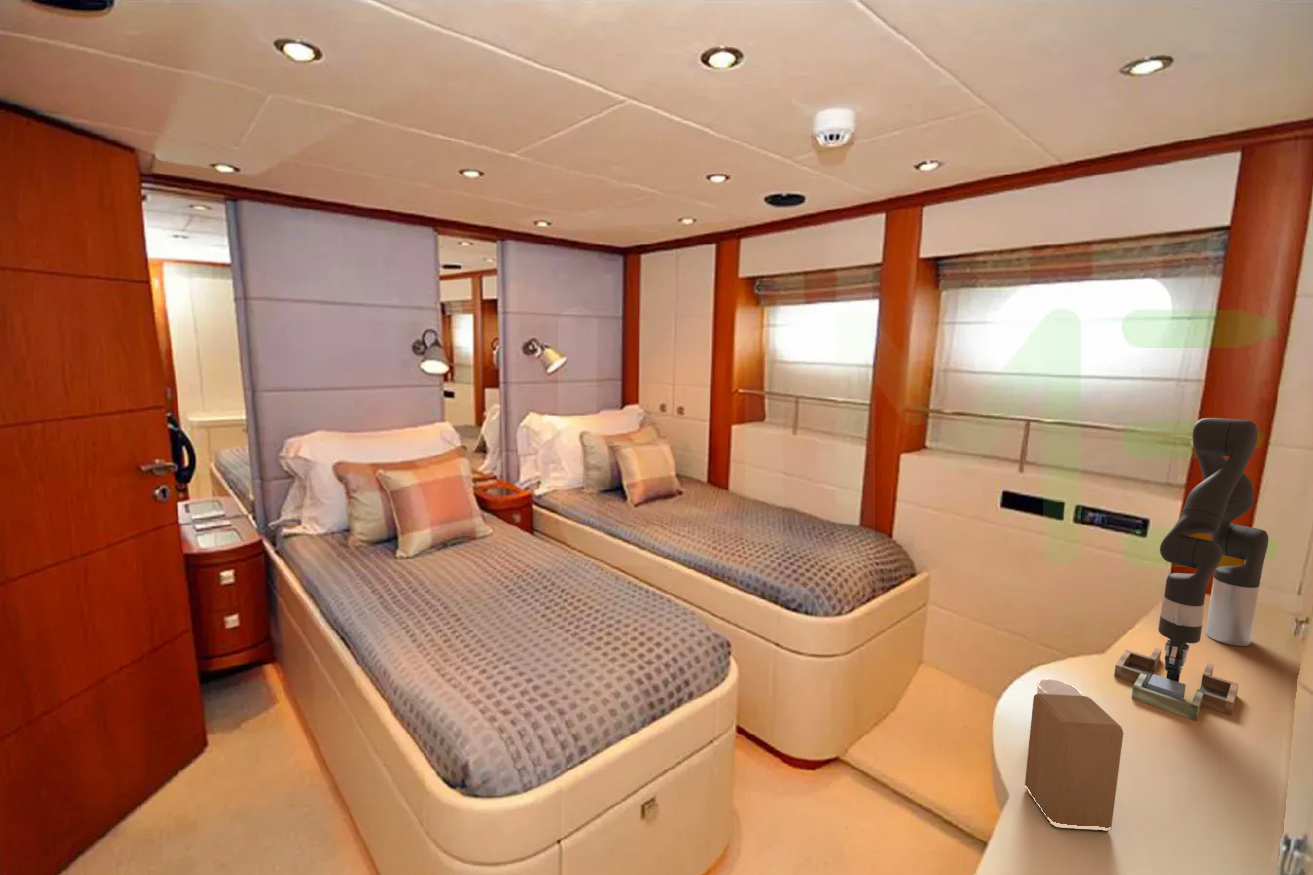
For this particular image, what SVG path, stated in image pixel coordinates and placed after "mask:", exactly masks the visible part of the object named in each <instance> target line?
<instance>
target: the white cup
mask: <svg viewBox="0 0 1313 875" xmlns="http://www.w3.org/2000/svg"><path fill="white" fill-rule="evenodd" d="M1036 690H1037V692H1036V694H1055V695H1075V696H1083V693H1081V690H1079V689H1078V688H1077V687H1075V686H1073V685H1072V684H1070V683H1067V682H1064V681H1061V680H1058V679H1052V678H1045V679H1044V678H1043V679H1041V680H1038V682H1037V689H1036Z"/></svg>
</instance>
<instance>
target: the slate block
mask: <svg viewBox="0 0 1313 875" xmlns="http://www.w3.org/2000/svg"><path fill="white" fill-rule="evenodd" d="M1186 685H1187V684H1186V683H1182V682H1180V681H1179V682H1177V681H1173V680H1170V679H1167V678H1166V677H1164V676H1160V675H1157V674H1156V673H1155V674H1154V673H1153V674H1152V675H1151V677H1150V679H1149V681H1148V683H1147V688H1146V689H1149V690H1152V691H1155V692H1158V693H1161V694H1164V695H1167V696H1170V697H1173V698H1176V699H1179V700H1182V701H1185V700H1184V698H1185V695H1186V694H1185V692H1186Z"/></svg>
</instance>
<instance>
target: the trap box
mask: <svg viewBox="0 0 1313 875" xmlns="http://www.w3.org/2000/svg"><path fill="white" fill-rule="evenodd" d="M1161 655H1162V649H1161V648H1158V647H1155V648H1154V650H1153V651H1152V653H1151V654H1150V656H1147V655H1144V654H1141V653H1138V652H1134V651H1131V650H1128V649H1125V650H1124V652H1123V653H1122V655H1121V656H1120V658H1119V659H1118V661H1117V662H1116V664H1115V667H1114V674H1113V676H1114V677H1116V678H1119V679H1122V680H1125V681H1128V682H1130V683H1133V686H1132V692H1131V698H1132V699H1133V700H1136V701H1140V702H1143V703H1145V704H1148V705H1149V706H1153V707H1156V708H1159V709H1162V710H1164V711H1168V712H1171V713H1172V714H1173V713H1174V714H1176V715H1179V716H1182V717H1185V718H1188V719H1190V720H1193V721H1197V718H1198V716H1199V713H1200V711H1201V707H1205V708H1209V709H1211V710H1214V711H1218V712H1220V713H1222V714H1223V713H1224V714H1226V715H1229V716H1232V714H1233V710H1234V707H1235V705H1236V704H1235V703H1236V699H1237V695H1238V690H1239V683H1237V682H1234V681H1231V680H1227V679H1223V678H1220V677H1217V676H1214V674H1213V673H1214V668H1215V666H1214V664H1213V663H1209V662H1208V663H1206V665H1205V667H1204V669H1203V673H1202V677H1201V682H1200V683H1201V684H1200V687H1199V689H1197V688H1196V691H1195V693H1194V696H1193V699H1192V701H1191V703H1190V702H1188V701H1185V700H1183V701H1182V700H1179V699H1176V698H1173V697H1170V696H1167V695H1164V694H1161V693H1158V692H1155V691H1152V690H1149V689H1147V688H1146V686H1148V682H1149V681H1150V679H1151V677H1152V675H1153V674H1154V672H1155V670H1156V668H1157V666H1158V664H1159V662H1160V661H1161Z"/></svg>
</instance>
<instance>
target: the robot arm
mask: <svg viewBox="0 0 1313 875" xmlns="http://www.w3.org/2000/svg"><path fill="white" fill-rule="evenodd" d="M1258 431H1259V430H1258V427H1257V425H1256V423H1255V422H1254V421H1252V420H1248V419H1236V418H1235V419H1234V418H1222V417H1221V418H1220V417H1219V418H1218V417H1205V418H1201V419H1199V420H1197V421H1196V422H1195V424H1194V426H1193V429H1192V434H1191V435H1192V437H1191V438H1192V443H1193V444H1192V445H1193V449H1194V452H1195V455H1196V458H1197V461H1198V464H1199V467H1200V470H1201V474H1202V481H1201V482H1200V483H1198V484H1197V485H1196V486H1195V487H1194V488H1193V489H1191V491H1190V492H1189V494H1188V495H1187V497H1186V499H1185V504H1184V506H1183V509H1182V512H1181V515H1180V517H1179V519H1178V521H1177V522H1176V524H1175V525H1174V526H1173V527H1172V529H1171V530H1170V531H1169V532H1168V533H1167V534H1166V535H1165V536H1164V538H1163V539H1162V541H1161V544H1160V546H1159V553H1160V556H1161V557H1162V559H1163V560H1164V561H1166V562H1168V563H1170V564H1174V565H1175V564H1176V565H1180V566H1183V567H1189V568H1192V569H1196V571H1195V572H1193V573H1183V572H1182V573H1181V572H1173V573H1170V574H1168V575H1167V577H1166V582H1165V586H1164V587H1165V588H1164V595H1163V600H1162V603H1161V607H1160V615H1159V621H1158V633H1159V634H1160V635H1161V636H1163V637H1165V638H1167V642H1165V645H1164V651H1165V653H1164V654H1165V656H1164V666H1165V667H1164V669H1165V670H1164V671H1166V675H1165V676H1166V677H1165V678H1167V679H1170V680H1173V681H1177V682H1180V678H1181V677H1180V676H1181V673H1182V671H1183V667H1184V666H1185V663H1186V661H1187V655H1188V652H1189V650H1190V644H1197V643H1199V642H1200V641H1201V638H1202V637H1201V635H1202V630H1203V624H1204V622H1203V621H1204V616H1205V611H1204V610H1205V609H1204V606H1205V605H1204V604H1205V599H1206V592H1207V587H1208V585H1209V582H1210V580H1211V578H1212V575H1213V579H1212V586H1211V593H1210V600H1209V605H1208V606H1209V607H1208V613H1207V621H1206V626H1205V635H1206V636H1207V637H1208V638H1210V639H1212V640H1214V641H1217V642H1220V643H1223V644H1227V645H1232V646H1236V647H1237V646H1238V647H1248V646H1251V641H1252V635H1253V634H1252V633H1253V629H1254V624H1255V623H1254V622H1255V616H1256V610H1257V604H1258V599H1259V598H1258V597H1259V591H1260V584H1261V579H1262V574H1263V567H1264V563H1265V559H1266V554H1267V551H1268V545H1269V534H1268V532H1267V531H1266V530H1265V529H1262V528H1258V527H1250V526H1246V525H1240V524H1235V523H1231V522H1233V521H1234V520H1237V519H1238V518H1239V517H1240V518H1241V517H1242V516H1243V515H1245V514H1246V513H1248V511H1249V510H1250V509H1252V507H1253V506H1254V503H1255V493H1254V486H1253V483H1252V481H1251V479H1250V478H1249V476H1248V475H1247V474H1246V473H1245V472H1244V471H1245V469H1246V468H1247V466H1248V463H1249V462H1250V460H1251V457H1252V455H1253V454H1254V451H1255V450H1256V445H1257V442H1258V434H1259V433H1258ZM1225 457H1228V458H1227V459H1226V458H1225ZM1196 534H1197V535H1199V534H1210V540H1209V539H1204V538H1199V537H1193V536H1192V535H1196ZM1223 556H1226V557H1230V558H1235V559H1240V560H1244V561H1245V563H1243V564H1240V565H1239V564H1238V565H1222V566H1219V564H1220V562H1221V561H1222V558H1223Z"/></svg>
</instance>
